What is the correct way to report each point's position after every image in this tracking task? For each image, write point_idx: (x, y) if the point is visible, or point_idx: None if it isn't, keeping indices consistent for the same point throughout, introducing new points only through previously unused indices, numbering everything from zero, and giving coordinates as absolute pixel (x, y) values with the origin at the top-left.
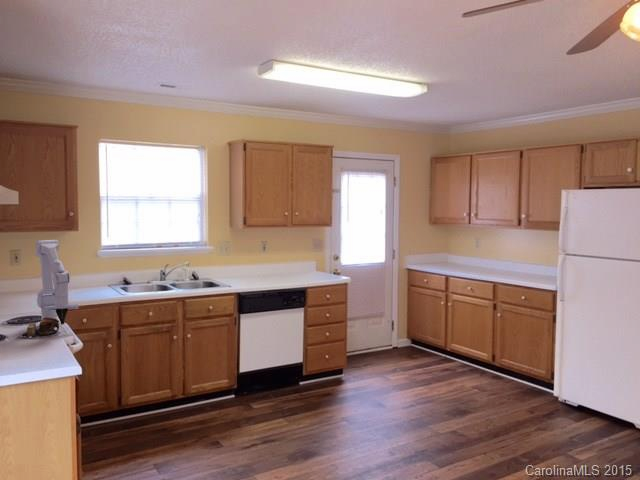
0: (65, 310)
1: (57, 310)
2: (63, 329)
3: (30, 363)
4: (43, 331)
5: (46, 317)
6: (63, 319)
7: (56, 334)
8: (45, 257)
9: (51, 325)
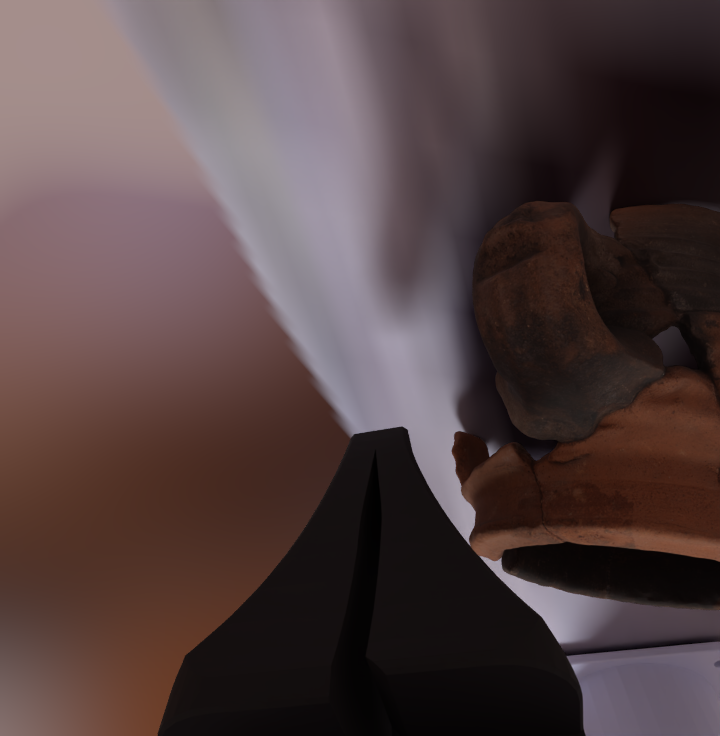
0: (211, 721)
1: None
2: None
3: None
4: (697, 224)
5: None
6: (343, 495)
7: (418, 124)
8: None
9: (570, 212)
